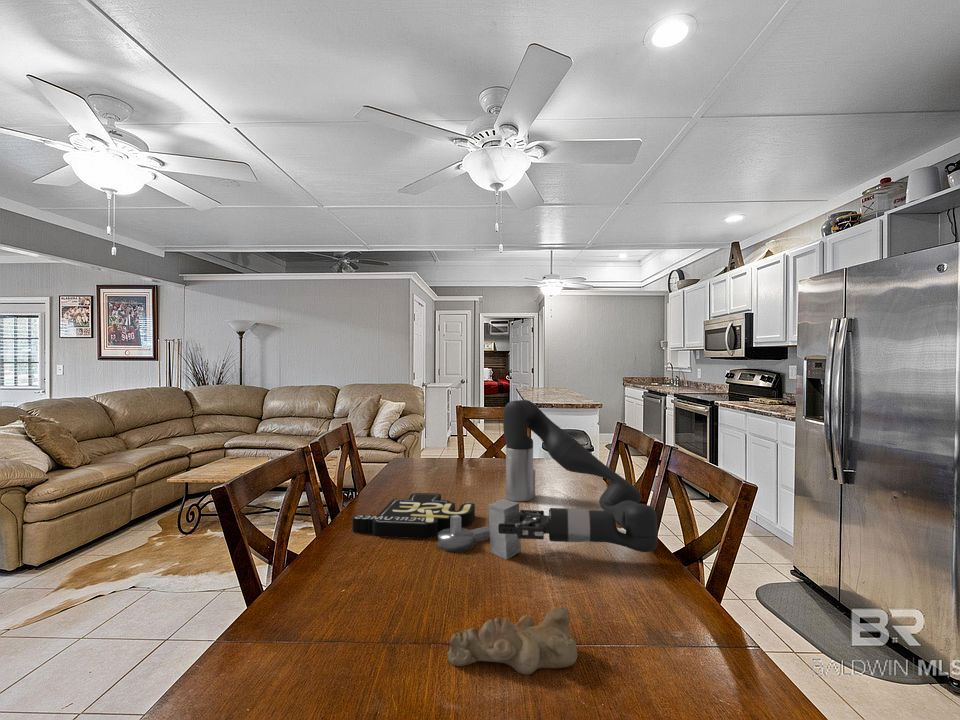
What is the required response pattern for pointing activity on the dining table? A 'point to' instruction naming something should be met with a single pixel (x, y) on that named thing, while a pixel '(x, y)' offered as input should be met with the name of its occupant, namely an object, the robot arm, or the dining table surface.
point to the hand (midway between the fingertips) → (500, 522)
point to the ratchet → (460, 536)
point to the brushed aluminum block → (503, 514)
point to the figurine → (518, 643)
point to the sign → (414, 517)
